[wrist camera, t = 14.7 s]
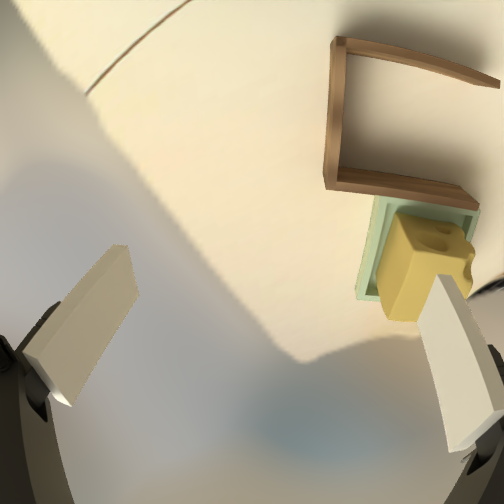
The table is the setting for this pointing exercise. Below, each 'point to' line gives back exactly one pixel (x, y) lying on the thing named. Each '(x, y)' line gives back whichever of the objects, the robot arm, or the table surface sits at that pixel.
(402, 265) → the cheese
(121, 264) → the robot arm
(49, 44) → the table surface
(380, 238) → the tray
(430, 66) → the cubby
